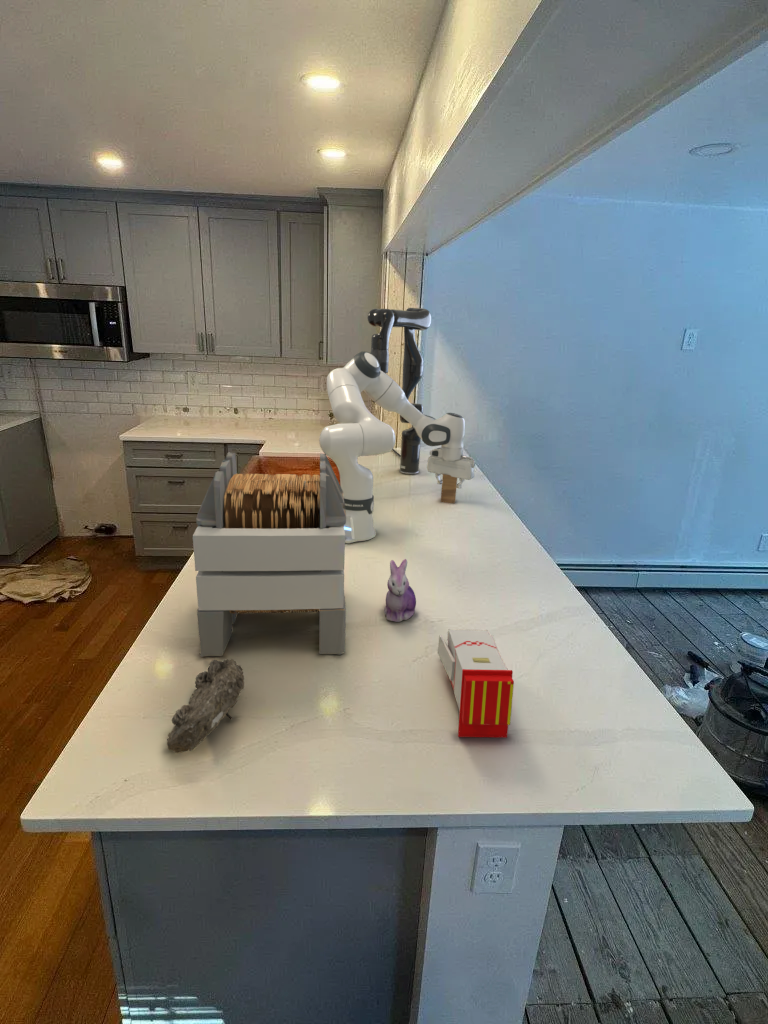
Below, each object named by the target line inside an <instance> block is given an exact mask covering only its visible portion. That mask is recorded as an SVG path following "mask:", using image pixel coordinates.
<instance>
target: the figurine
mask: <svg viewBox="0 0 768 1024" xmlns="http://www.w3.org/2000/svg"><path fill="white" fill-rule="evenodd" d="M407 567H408V559H406V558H404V559H403V560H402V561H401V563H400V565H399V566H398V565H397V563H396V562H395V561H394V560H393V559H391V560H390V561H389V570H390V576H389V578H388V579H387V589H388V591H387V592H386V594H385V595H386V596H385V607H384V615H385V616H386V620H387V621H391V622H395V623H400V622H402V621H406V620H409V619H410V618H411V617H413V616H414V615H415V610H416V606H417V597H416V593H415V591H414V590H413V587H411V586H410V582H409V579H408V577H407V574H406V571H407Z"/></svg>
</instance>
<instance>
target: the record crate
mask: <svg viewBox="0 0 768 1024" xmlns="http://www.w3.org/2000/svg"><path fill="white" fill-rule="evenodd" d="M328 458H329V457H328V456H327V455H326V454H325V453H321V452H320V453H319V474H312V475H311V474H307V473H304V474H302V475H299V474H295V473H276V474H271V473H270V474H268V473H238V472H237V457H236V452H227V454H226V456H225V458H224V459H223V460H222V461H221V464H220V466H219V468H218V470H217V471H215V473H214V475H213V477H212V479H211V482H210V484H209V486H208V488H207V491H206V493H205V496H204V498H203V500H202V502H201V505H200V507H199V509H198V512H197V514H196V517H195V521H196V525H197V527H196V529H195V530H194V532H193V534H192V544H193V545H192V546H193V558H194V559H193V560H194V571H195V572H197V573H196V576H195V584H196V597H197V610H196V619H197V631H198V639H199V651H200V652H199V656H200V657H201V658H207V657H223V655H224V653H225V651H226V648H227V647H228V644H229V641H230V639H231V638H232V637H231V636H232V634H233V624H235V623H236V619H237V617H238V614H257V613H258V614H263V613H264V614H266V613H267V614H277V613H278V614H282V613H283V614H288V613H291V614H292V613H308V612H309V613H317V612H318V613H319V614H318V615H319V616H318V618H319V621H318V622H319V626H318V627H319V628H318V629H319V630H318V632H319V634H318V636H319V637H318V638H319V639H318V640H319V646H318V649H319V652H318V653H319V655H341V656H342V654H344V653H346V626H347V625H346V623H347V621H346V619H347V617H346V616H347V608H346V596H345V559H346V558H345V556H346V555H345V554H346V553H345V552H346V543H345V530H344V524H345V523H346V511H345V503H344V496H343V491H342V489H341V486H340V481H339V480H338V477H337V475H336V474H335V472H334V469H333V467H332V465H331V463H330V461H329V459H328Z"/></svg>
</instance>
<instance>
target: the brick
mask: <svg viewBox="0 0 768 1024" xmlns="http://www.w3.org/2000/svg"><path fill="white" fill-rule="evenodd" d="M441 480H442V484H441V491H440V503H447V504H455V503H456V501H457V500H456V498H457V489H458V488H456V484H458V478H456V477H452V476H451V475H447V474H443V475H442V478H441Z"/></svg>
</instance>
